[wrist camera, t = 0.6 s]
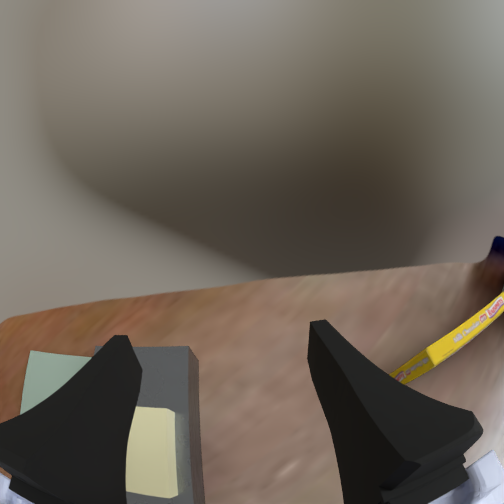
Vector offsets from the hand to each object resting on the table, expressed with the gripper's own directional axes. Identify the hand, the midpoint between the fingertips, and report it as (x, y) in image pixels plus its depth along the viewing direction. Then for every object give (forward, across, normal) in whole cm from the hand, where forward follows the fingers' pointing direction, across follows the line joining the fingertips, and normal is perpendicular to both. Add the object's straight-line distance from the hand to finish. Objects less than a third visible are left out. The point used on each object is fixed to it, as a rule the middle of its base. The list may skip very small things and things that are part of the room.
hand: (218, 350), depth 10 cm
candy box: (+8, -23, +15) cm, 28 cm away
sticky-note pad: (+1, +9, +13) cm, 16 cm away
